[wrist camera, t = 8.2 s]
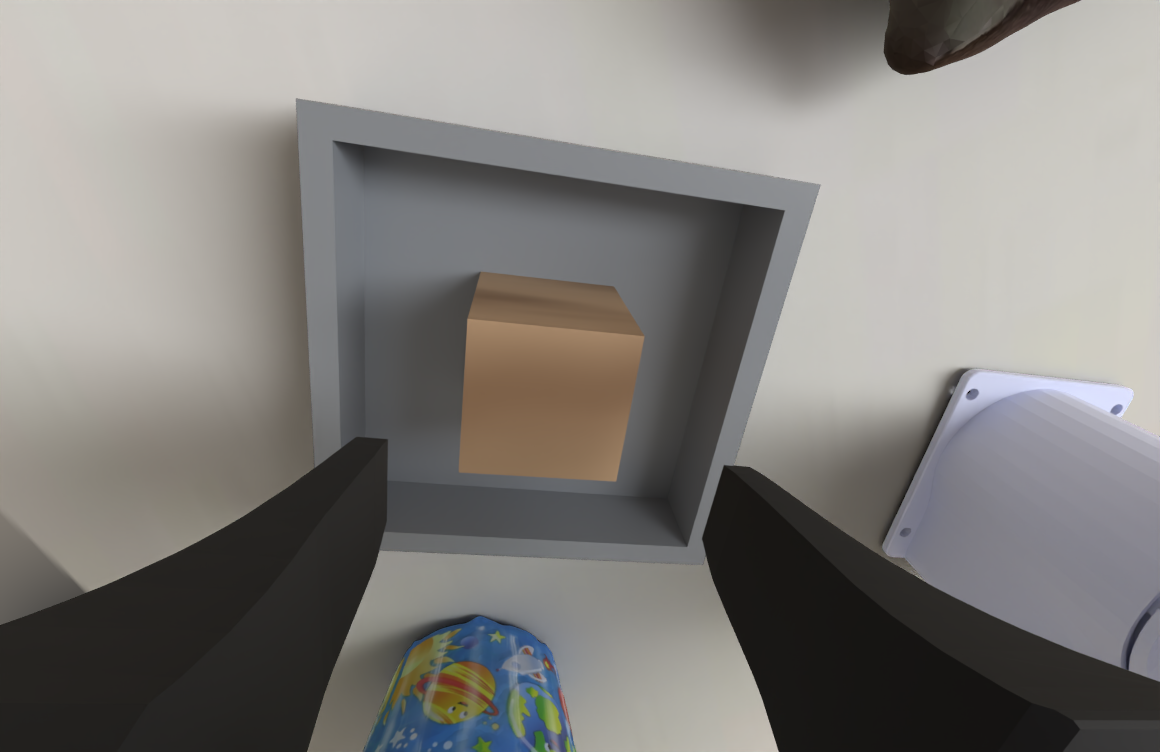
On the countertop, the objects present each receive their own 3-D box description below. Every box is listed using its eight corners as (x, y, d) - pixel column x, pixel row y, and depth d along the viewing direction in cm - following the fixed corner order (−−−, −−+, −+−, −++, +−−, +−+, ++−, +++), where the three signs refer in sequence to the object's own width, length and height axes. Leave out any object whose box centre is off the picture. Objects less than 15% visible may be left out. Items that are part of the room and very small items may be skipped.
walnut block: (594, 403, 20) (616, 481, 16) (472, 393, 20) (458, 472, 15) (614, 286, 18) (644, 336, 14) (480, 271, 18) (467, 318, 13)
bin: (677, 506, 23) (702, 564, 20) (348, 485, 21) (318, 547, 18) (767, 175, 18) (820, 184, 15) (340, 105, 16) (295, 98, 13)
